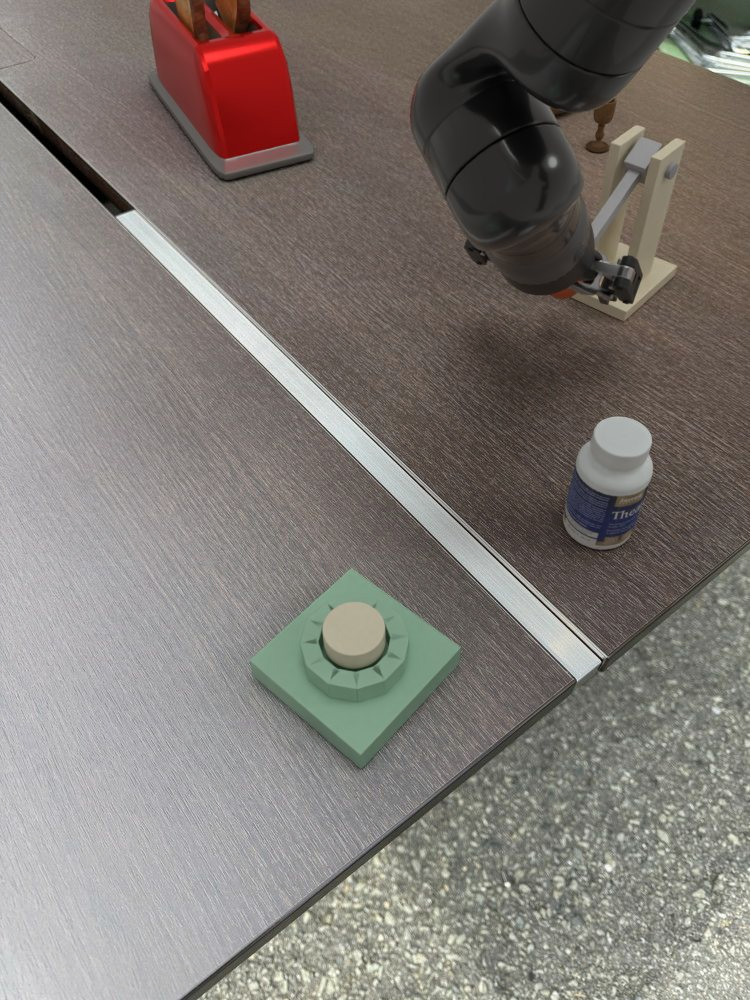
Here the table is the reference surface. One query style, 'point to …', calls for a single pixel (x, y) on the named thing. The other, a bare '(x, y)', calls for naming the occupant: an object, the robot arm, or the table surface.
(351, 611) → the button
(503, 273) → the robot arm
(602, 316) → the table surface
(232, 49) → the toaster
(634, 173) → the lever
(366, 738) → the button block
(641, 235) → the bracket
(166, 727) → the table surface
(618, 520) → the pill bottle
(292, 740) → the table surface
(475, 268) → the table surface
